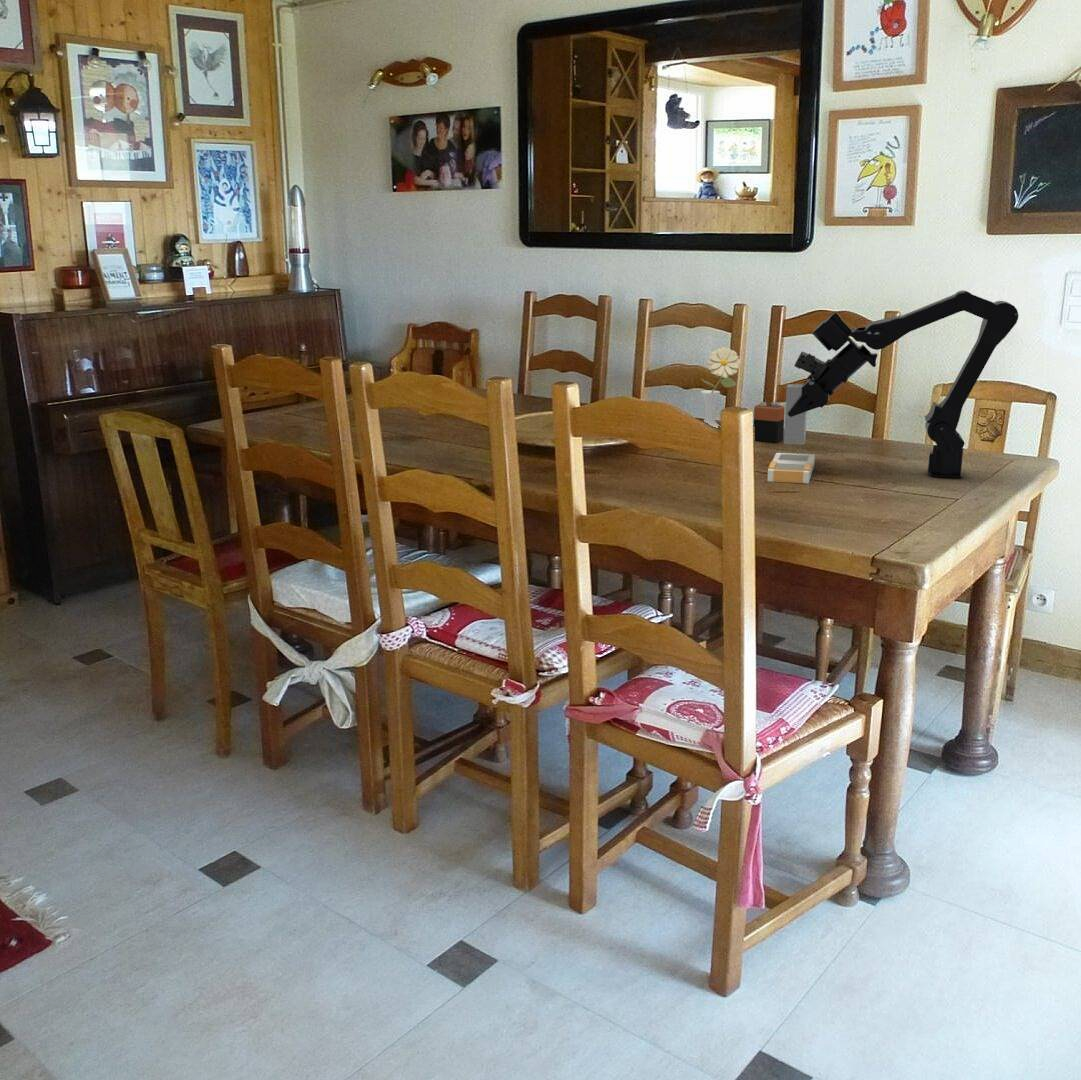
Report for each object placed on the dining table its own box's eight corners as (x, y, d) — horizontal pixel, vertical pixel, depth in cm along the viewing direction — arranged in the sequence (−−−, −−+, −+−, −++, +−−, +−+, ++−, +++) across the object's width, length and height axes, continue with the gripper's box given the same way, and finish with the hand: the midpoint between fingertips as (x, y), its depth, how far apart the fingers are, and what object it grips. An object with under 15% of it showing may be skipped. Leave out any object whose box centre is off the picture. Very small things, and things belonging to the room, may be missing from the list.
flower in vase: (681, 448, 270) (683, 348, 263) (692, 440, 280) (694, 343, 273) (732, 452, 265) (736, 350, 258) (742, 443, 275) (745, 345, 268)
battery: (776, 443, 274) (778, 404, 272) (752, 440, 278) (753, 402, 276) (783, 440, 278) (785, 402, 275) (759, 438, 282) (761, 400, 279)
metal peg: (805, 441, 247) (808, 384, 243) (803, 444, 243) (806, 387, 239) (785, 440, 248) (788, 384, 244) (783, 443, 244) (786, 387, 240)
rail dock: (814, 465, 250) (814, 452, 249) (808, 483, 233) (809, 470, 232) (775, 463, 252) (776, 451, 252) (767, 481, 235) (767, 468, 234)
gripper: (820, 335, 246) (769, 382, 252) (815, 344, 229) (760, 394, 235) (853, 370, 246) (802, 416, 252) (851, 382, 229) (795, 431, 235)
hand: (789, 413), depth 244 cm, fingers closed on metal peg, 4 cm apart
